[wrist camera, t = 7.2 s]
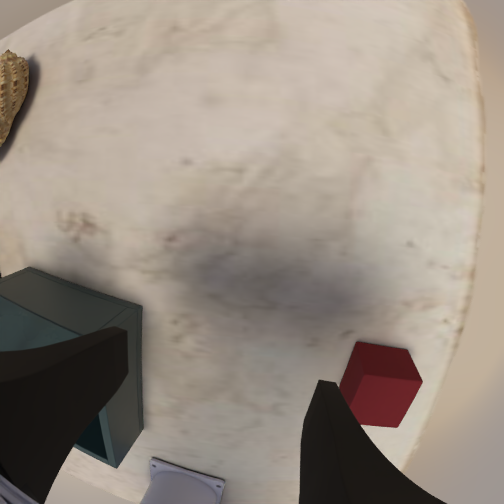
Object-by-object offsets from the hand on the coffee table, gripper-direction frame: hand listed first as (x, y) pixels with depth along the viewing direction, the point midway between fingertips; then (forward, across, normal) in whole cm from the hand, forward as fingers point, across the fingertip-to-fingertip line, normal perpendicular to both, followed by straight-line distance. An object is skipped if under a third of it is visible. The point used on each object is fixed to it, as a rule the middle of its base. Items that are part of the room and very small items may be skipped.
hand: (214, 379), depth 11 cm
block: (+10, -9, +4) cm, 14 cm away
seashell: (+10, +25, -11) cm, 29 cm away
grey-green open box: (+10, +14, +10) cm, 20 cm away
